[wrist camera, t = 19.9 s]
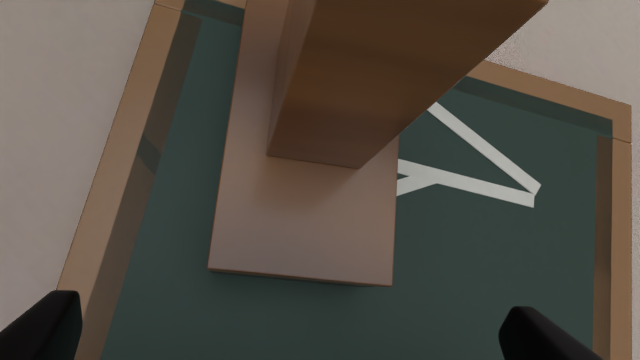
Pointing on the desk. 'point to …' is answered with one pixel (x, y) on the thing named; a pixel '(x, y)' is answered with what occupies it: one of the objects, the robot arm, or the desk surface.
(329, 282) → the duster
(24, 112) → the desk surface
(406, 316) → the board
